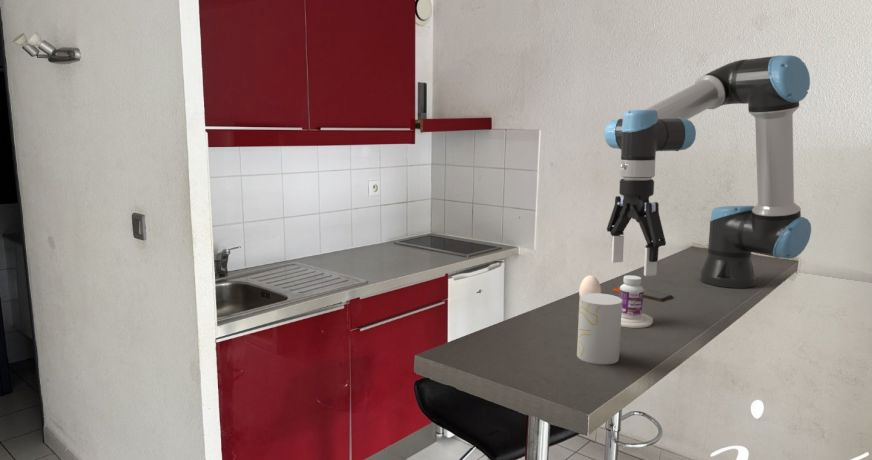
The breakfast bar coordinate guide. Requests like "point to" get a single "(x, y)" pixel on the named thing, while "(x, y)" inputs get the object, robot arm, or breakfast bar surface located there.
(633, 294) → the pill bottle
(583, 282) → the egg
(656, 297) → the phone
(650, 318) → the saucer
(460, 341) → the breakfast bar surface
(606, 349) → the white upright cylinder
